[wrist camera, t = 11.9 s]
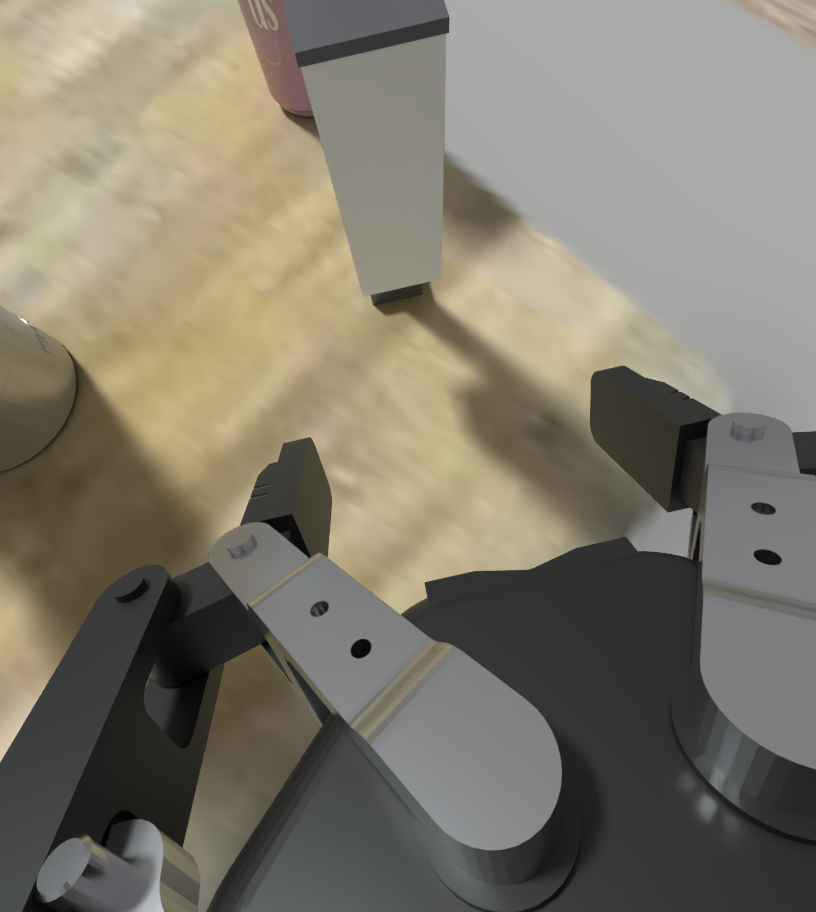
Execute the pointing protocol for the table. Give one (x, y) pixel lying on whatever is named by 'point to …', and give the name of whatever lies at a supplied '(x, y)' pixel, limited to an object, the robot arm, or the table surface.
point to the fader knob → (380, 127)
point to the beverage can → (277, 54)
